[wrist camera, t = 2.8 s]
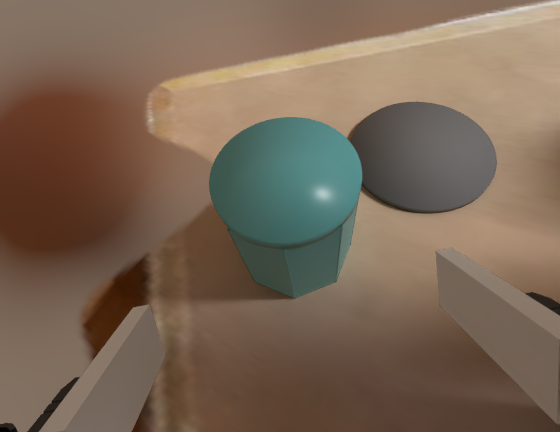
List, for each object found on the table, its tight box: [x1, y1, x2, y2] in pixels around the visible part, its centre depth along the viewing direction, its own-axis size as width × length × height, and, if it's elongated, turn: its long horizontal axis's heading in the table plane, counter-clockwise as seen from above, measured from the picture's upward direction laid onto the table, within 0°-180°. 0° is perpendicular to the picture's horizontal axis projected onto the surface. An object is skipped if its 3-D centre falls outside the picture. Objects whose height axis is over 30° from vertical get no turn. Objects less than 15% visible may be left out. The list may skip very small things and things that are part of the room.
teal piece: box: [209, 117, 362, 299], centre depth 26 cm, size 10×10×11 cm
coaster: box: [351, 102, 497, 213], centre depth 34 cm, size 14×14×1 cm
